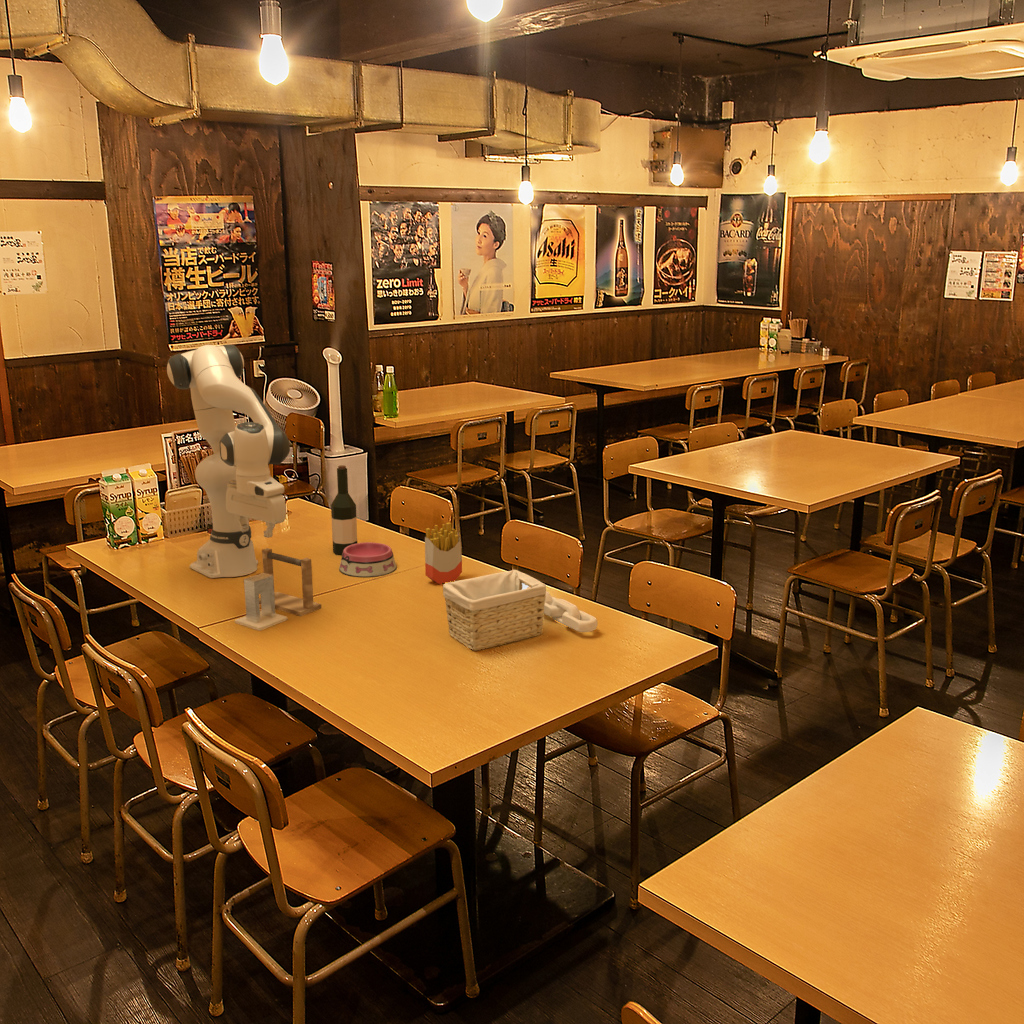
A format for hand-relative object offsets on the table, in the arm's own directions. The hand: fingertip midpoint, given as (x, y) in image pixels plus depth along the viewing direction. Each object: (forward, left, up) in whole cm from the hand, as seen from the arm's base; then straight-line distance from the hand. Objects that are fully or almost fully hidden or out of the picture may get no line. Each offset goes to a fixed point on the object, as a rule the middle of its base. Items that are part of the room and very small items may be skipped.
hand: (256, 534), depth 261 cm
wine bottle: (-26, +60, -25) cm, 70 cm away
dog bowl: (-8, +51, -26) cm, 58 cm away
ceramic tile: (0, 0, -25) cm, 25 cm away
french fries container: (+20, +56, -25) cm, 64 cm away
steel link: (0, 0, -24) cm, 24 cm away
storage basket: (+58, +29, -25) cm, 70 cm away
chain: (+66, +49, -25) cm, 86 cm away
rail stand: (-3, +13, -25) cm, 28 cm away
